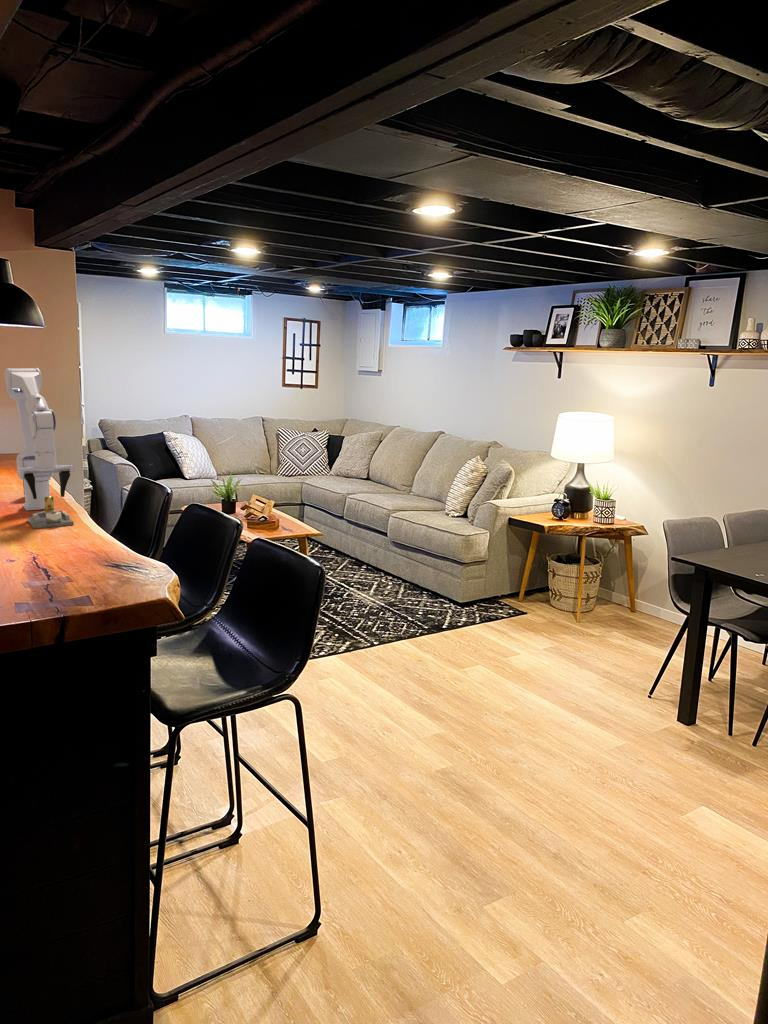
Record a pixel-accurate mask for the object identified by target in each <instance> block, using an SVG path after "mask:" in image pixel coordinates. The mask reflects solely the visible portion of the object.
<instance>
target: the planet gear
mask: <svg viewBox="0 0 768 1024" xmlns="http://www.w3.org/2000/svg"><path fill="white" fill-rule="evenodd" d="M44 503H45V509H44V510H43V511H41V512H50V511H54V510H55V511H58V510H56V509H55V500H54V496H53V495H50V496H45V497H44Z"/></svg>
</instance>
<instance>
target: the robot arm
mask: <svg viewBox="0 0 768 1024" xmlns="http://www.w3.org/2000/svg"><path fill="white" fill-rule="evenodd" d="M4 382H5V387H6V393H7V395H8V397H9V399H12V400H14V402H15V406H16V410H17V414H18V421H19V426H20V432H21V439H22V443H23V450H22V451H21V452H20V453H18V454H17V455H16V456H17V457H16V458H15V459H16V471H17V477H18V478H19V479H20V480H21V481H22V482H23V481H24V487H23V492H24V491H25V495H24V500H25V503H22V507H23V509H24V510H25V511H38V510H39V511H40V510H45V503H44V497H45V496H51V492H50V490H51V489H50V480H51V479H52V478H53V476H54V474H57V473H58V476H59V484H60V490H59V491H60V497H61V498H64V497H65V494H66V488H67V484H68V481H69V479H70V477H71V473H74V465H72V464H59V465H58V464H57V462H58V461H57V453H56V452H57V451H56V450H57V449H56V436H55V431H56V429H57V418H56V414H55V411H54V410H53V409H51V408H49V405H48V403H47V401H46V398H45V397H44V396H43V395H41V394H40V393H41V389H42V385H43V377H42V372H41V370H40V369H39V367H35V368H29V367H28V368H27V367H26V368H12V367H11V368H10V367H7V368H5V369H4Z"/></svg>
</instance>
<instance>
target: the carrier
mask: <svg viewBox="0 0 768 1024" xmlns="http://www.w3.org/2000/svg"><path fill="white" fill-rule="evenodd" d="M55 510H56V509H55ZM55 510H54V511H50V512H42V511H39V512H35V513H32V516H27V518H26V519H27V520H26V521H27V522H28V523H29V525H31V527H32V528H33V530H35V529H36V530H37V529H46V528H56V527H66V526H74V520H73V519H71V517H70V514H69V513H68V512H67V511H66V510H57V511H55Z"/></svg>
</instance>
